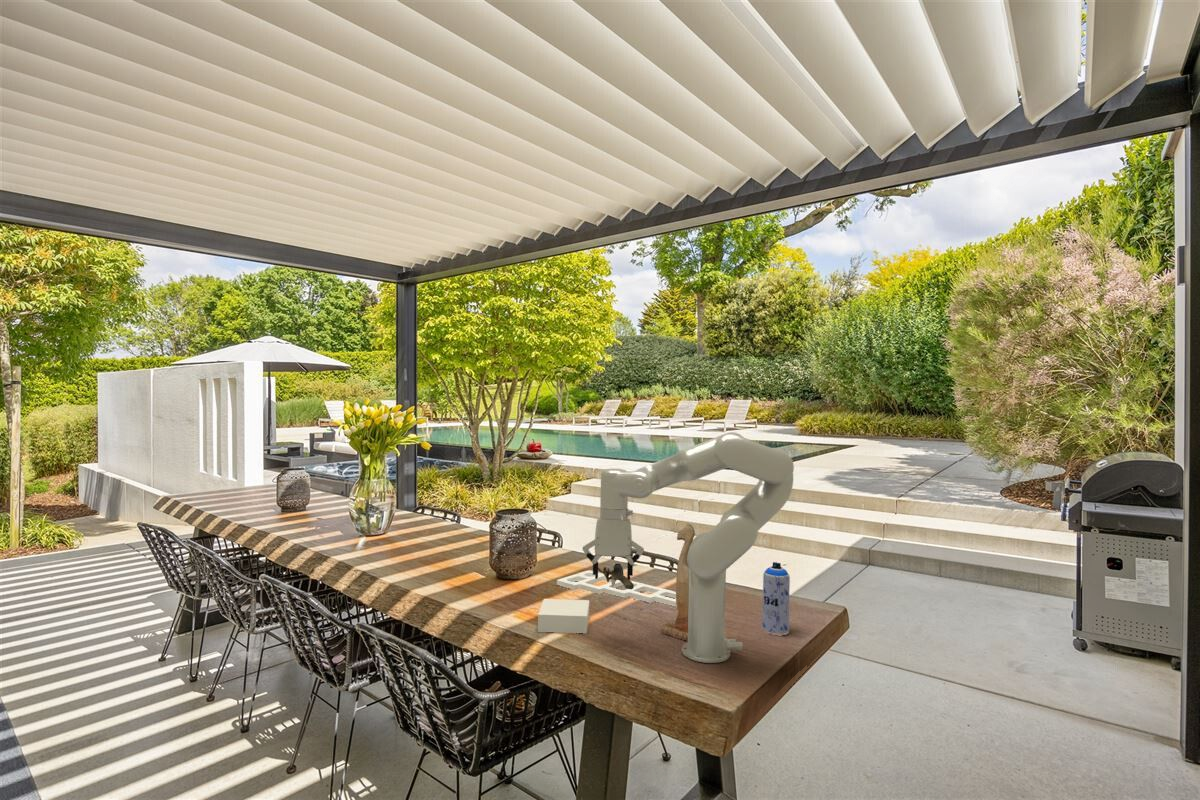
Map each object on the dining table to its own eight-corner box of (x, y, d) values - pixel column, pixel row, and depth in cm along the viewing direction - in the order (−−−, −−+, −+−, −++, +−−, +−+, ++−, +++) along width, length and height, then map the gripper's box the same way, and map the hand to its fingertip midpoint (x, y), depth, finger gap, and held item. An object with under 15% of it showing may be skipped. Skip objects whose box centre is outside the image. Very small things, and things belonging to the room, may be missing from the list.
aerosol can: (756, 630, 177) (758, 562, 177) (769, 624, 182) (770, 557, 183) (781, 638, 171) (783, 567, 172) (793, 631, 177) (795, 563, 177)
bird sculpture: (680, 624, 182) (679, 517, 182) (715, 633, 174) (714, 522, 175) (660, 635, 173) (659, 523, 174) (695, 645, 166) (694, 527, 166)
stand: (588, 616, 185) (589, 600, 185) (586, 633, 171) (587, 616, 171) (543, 615, 186) (543, 598, 186) (537, 632, 172) (538, 614, 172)
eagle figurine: (594, 582, 163) (620, 582, 158) (600, 557, 167) (626, 556, 162) (610, 592, 168) (636, 593, 162) (616, 568, 172) (641, 567, 166)
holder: (692, 604, 201) (692, 595, 201) (662, 618, 187) (662, 609, 187) (588, 577, 230) (589, 570, 230) (556, 587, 216) (556, 580, 216)
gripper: (644, 512, 169) (643, 574, 169) (582, 511, 170) (581, 573, 169) (646, 517, 162) (645, 582, 162) (581, 515, 162) (580, 581, 162)
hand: (612, 577), depth 165 cm, fingers closed on eagle figurine, 8 cm apart
